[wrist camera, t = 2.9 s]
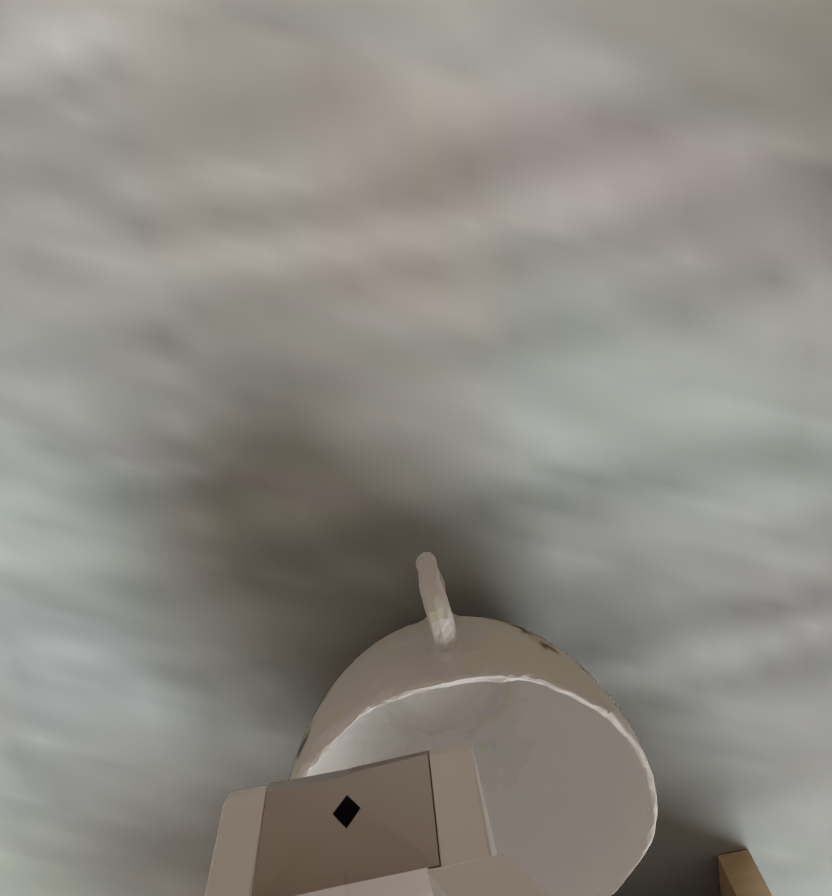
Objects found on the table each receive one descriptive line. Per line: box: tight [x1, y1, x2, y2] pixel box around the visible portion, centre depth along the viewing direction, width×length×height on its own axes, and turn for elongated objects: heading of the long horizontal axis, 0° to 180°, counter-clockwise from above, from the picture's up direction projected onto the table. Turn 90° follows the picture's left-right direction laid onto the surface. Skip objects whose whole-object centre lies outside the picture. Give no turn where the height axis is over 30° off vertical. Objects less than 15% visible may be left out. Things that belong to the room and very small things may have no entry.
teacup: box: [289, 552, 658, 896], centre depth 29 cm, size 15×12×8 cm
